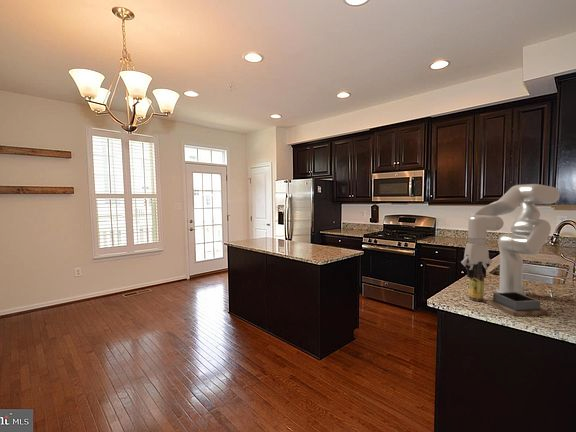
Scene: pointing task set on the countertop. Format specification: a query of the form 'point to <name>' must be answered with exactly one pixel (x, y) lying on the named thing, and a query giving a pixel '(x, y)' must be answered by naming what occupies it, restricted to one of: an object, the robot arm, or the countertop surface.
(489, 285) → the countertop surface
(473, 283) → the sauce bottle
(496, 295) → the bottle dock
